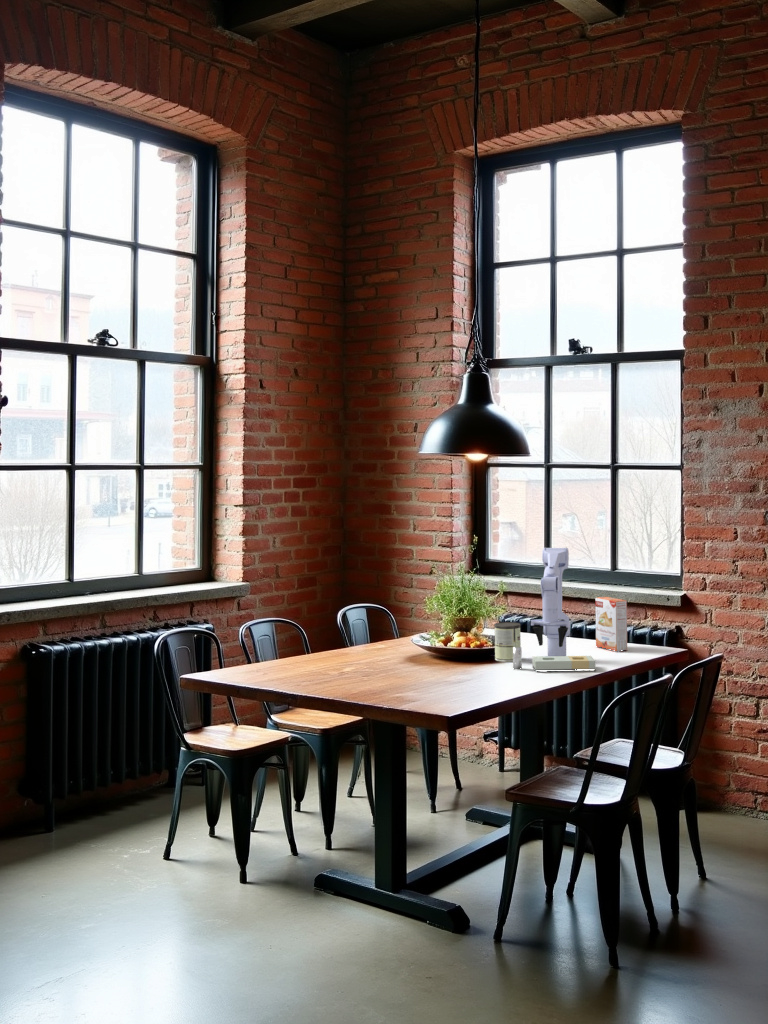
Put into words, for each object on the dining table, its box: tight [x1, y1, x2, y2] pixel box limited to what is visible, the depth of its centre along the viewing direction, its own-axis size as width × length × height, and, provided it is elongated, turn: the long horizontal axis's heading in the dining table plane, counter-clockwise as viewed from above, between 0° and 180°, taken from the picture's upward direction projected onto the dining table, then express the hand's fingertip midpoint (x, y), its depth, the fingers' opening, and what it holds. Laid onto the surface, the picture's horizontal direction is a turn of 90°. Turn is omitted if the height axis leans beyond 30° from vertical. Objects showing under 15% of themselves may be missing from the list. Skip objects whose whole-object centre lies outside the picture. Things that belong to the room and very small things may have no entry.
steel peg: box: [512, 646, 523, 670], centre depth 407 cm, size 3×3×8 cm
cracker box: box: [595, 596, 628, 652], centre depth 445 cm, size 14×6×21 cm, turn 25°
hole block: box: [532, 655, 596, 671], centre depth 405 cm, size 10×22×4 cm, turn 88°
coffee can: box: [493, 621, 522, 663], centre depth 426 cm, size 10×10×14 cm
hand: (550, 645), depth 399 cm, fingers open, 7 cm apart
